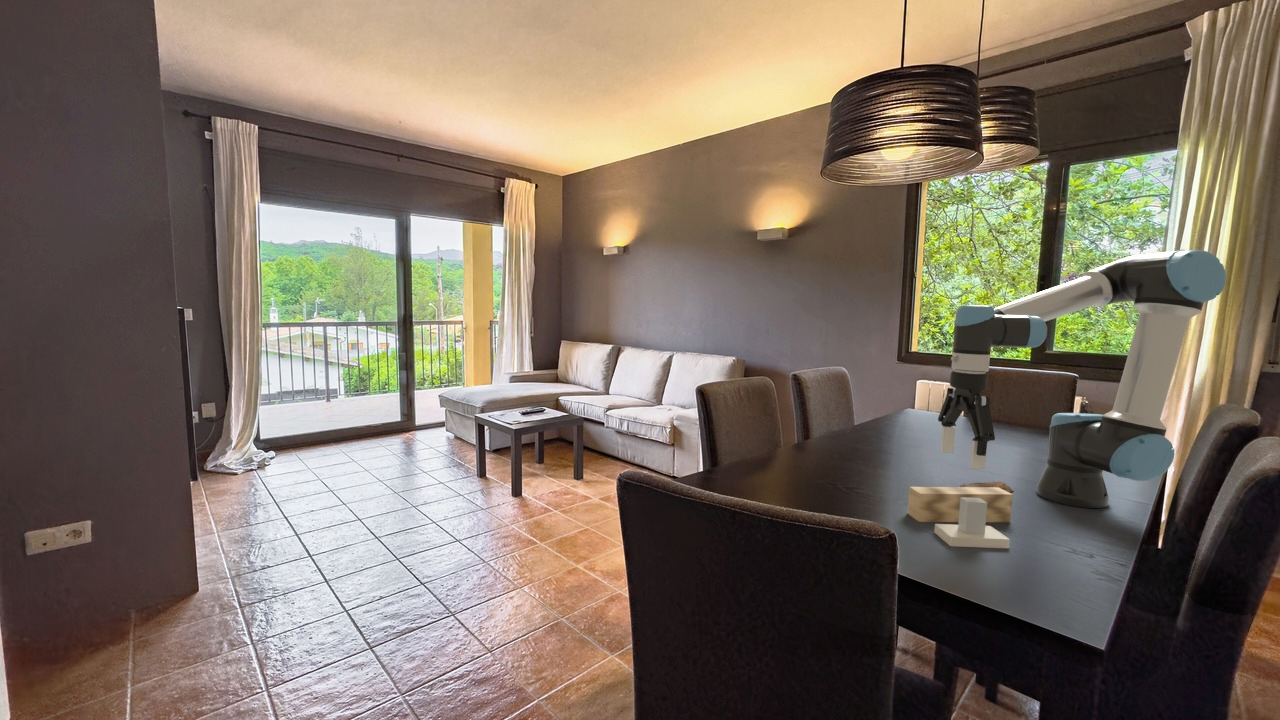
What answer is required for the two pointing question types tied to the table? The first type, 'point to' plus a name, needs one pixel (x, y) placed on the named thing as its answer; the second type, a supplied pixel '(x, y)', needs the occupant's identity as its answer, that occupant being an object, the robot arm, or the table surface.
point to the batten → (957, 503)
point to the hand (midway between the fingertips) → (961, 460)
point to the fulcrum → (972, 527)
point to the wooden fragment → (990, 485)
